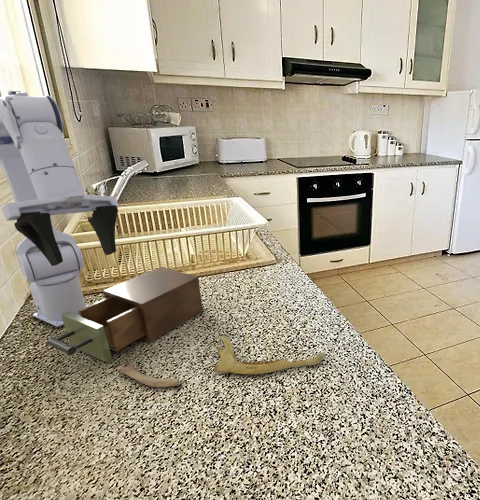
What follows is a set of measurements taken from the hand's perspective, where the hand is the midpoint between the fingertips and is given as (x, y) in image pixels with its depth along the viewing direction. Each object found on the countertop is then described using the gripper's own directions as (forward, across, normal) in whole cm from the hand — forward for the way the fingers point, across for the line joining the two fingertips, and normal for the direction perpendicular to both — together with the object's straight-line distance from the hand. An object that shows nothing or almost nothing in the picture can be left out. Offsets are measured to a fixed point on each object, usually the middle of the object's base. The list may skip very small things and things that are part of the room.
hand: (85, 258), depth 57 cm
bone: (+22, +4, +4) cm, 23 cm away
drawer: (+14, +7, +17) cm, 23 cm away
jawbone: (+26, +18, -8) cm, 33 cm away
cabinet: (+13, +18, +16) cm, 28 cm away
